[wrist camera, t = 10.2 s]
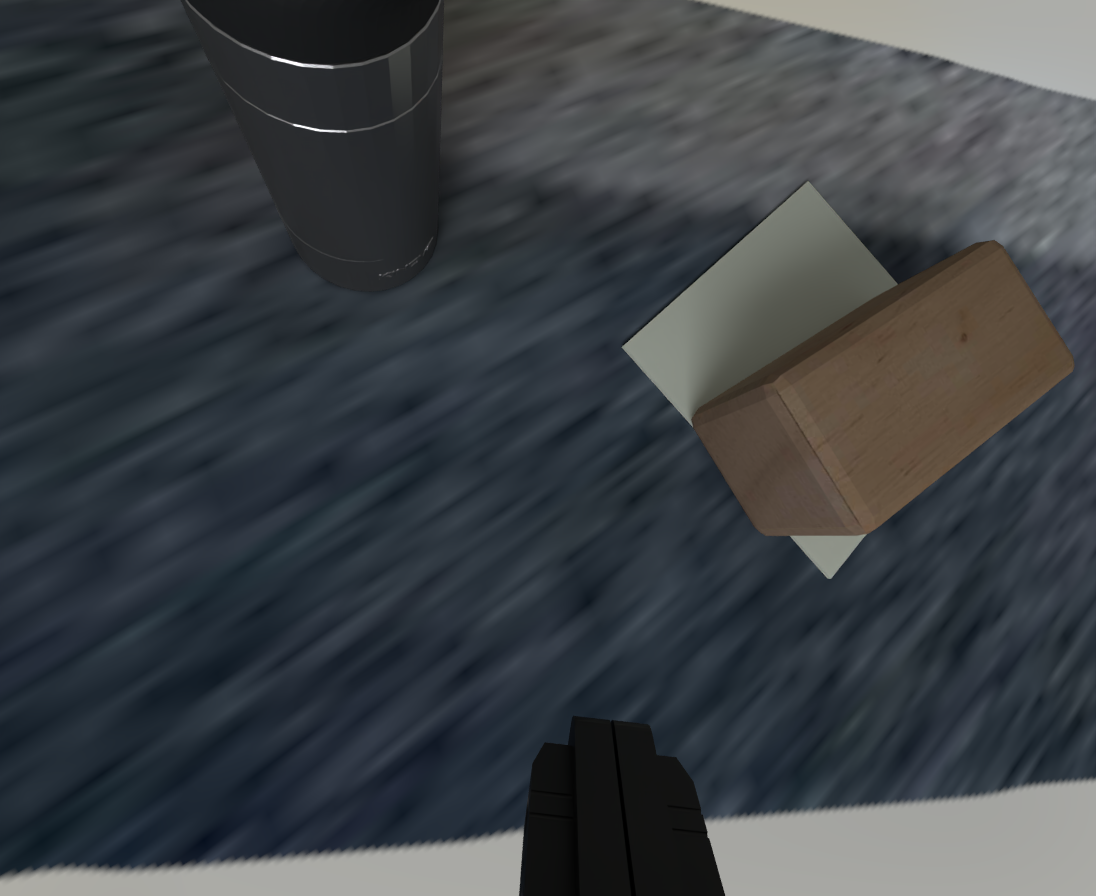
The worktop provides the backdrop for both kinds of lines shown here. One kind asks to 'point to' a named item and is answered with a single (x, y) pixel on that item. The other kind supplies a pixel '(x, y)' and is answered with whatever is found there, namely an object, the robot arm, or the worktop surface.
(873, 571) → the worktop surface
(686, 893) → the robot arm
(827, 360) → the wooden block
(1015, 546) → the worktop surface
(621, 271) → the worktop surface
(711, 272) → the mat
